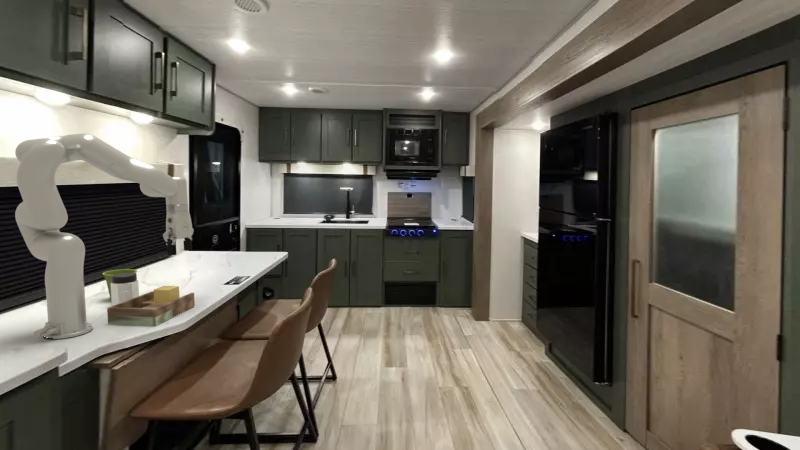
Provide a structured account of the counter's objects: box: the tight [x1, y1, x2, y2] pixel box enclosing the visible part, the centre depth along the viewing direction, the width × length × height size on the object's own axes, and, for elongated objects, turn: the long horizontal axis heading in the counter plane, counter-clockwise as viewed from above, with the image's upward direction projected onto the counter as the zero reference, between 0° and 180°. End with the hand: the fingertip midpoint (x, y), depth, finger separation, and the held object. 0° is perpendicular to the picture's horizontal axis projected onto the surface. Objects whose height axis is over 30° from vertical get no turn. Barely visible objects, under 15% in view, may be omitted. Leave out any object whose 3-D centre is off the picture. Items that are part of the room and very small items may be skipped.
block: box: [153, 285, 180, 303], centre depth 161 cm, size 6×6×5 cm
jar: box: [110, 272, 140, 306], centre depth 165 cm, size 9×8×12 cm
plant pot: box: [102, 268, 138, 300], centre depth 174 cm, size 12×12×11 cm
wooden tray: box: [106, 290, 195, 327], centre depth 154 cm, size 22×17×6 cm
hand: (180, 252), depth 168 cm, fingers open, 9 cm apart
